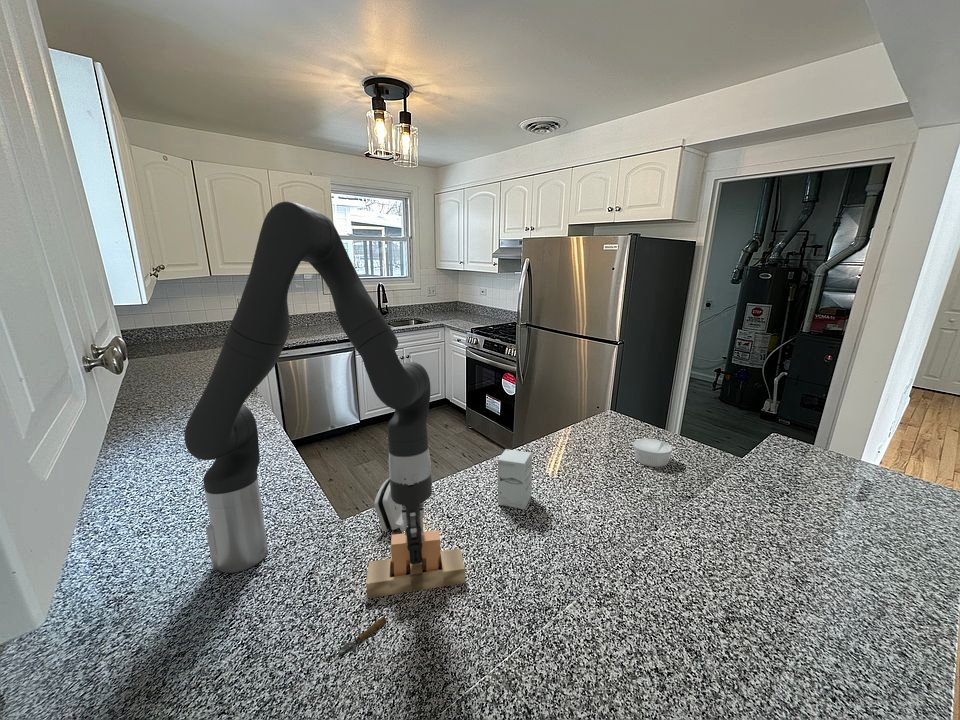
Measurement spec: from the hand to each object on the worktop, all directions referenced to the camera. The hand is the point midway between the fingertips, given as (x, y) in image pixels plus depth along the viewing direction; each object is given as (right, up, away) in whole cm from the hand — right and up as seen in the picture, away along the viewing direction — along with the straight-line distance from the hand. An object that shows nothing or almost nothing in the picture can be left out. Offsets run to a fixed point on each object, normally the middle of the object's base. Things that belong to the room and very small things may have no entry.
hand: (416, 555), depth 75 cm
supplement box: (+21, 0, +28) cm, 35 cm away
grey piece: (-8, -1, +24) cm, 25 cm away
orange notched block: (0, -3, +1) cm, 3 cm away
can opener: (-7, -8, -11) cm, 16 cm away
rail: (0, -5, +1) cm, 5 cm away
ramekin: (+66, +5, +49) cm, 82 cm away
